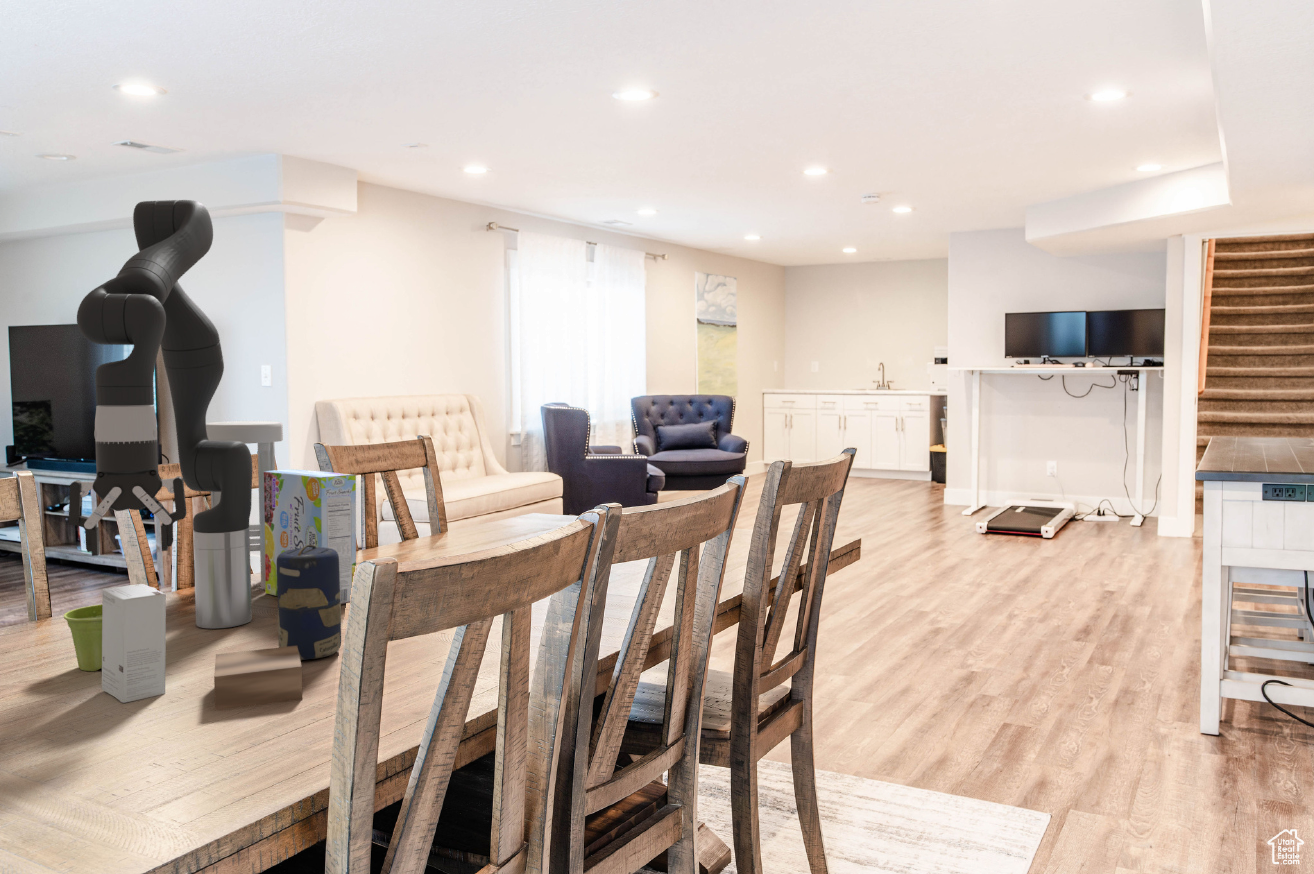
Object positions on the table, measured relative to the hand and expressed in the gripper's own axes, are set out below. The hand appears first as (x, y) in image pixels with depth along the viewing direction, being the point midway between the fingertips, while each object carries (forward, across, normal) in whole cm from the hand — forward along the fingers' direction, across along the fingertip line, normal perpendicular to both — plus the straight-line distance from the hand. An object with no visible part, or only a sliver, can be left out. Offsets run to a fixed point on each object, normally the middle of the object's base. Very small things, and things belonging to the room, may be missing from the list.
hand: (130, 552), depth 131 cm
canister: (+20, -24, -9) cm, 33 cm away
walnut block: (+20, -16, +7) cm, 27 cm away
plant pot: (+20, +6, -16) cm, 27 cm away
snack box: (+20, -27, -50) cm, 60 cm away
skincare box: (+20, 0, 0) cm, 20 cm away
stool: (+20, -15, -68) cm, 73 cm away
